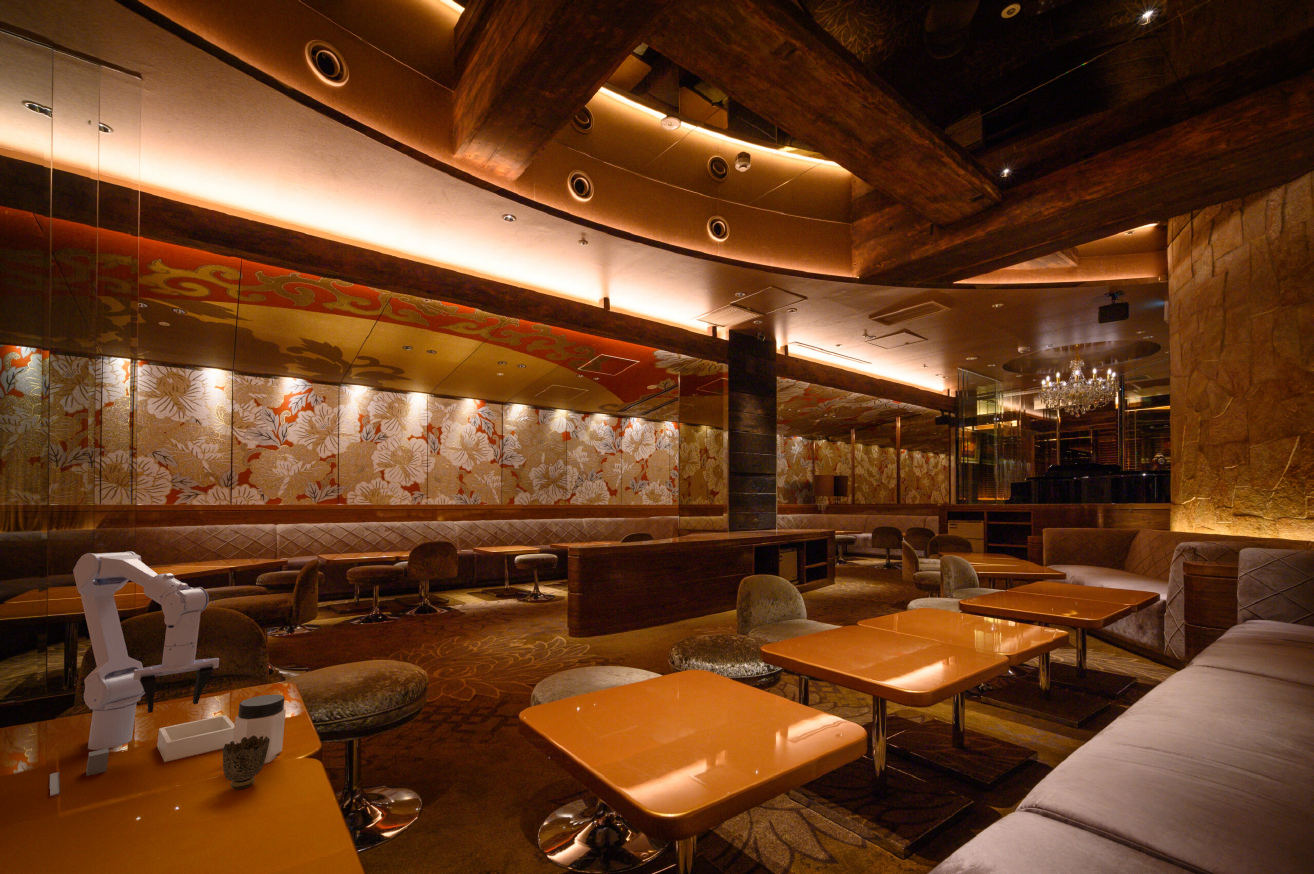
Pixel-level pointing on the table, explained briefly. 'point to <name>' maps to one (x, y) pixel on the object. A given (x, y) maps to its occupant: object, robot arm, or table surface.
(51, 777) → the lid
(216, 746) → the box
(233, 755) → the cup
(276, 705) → the jar
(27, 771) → the table surface
